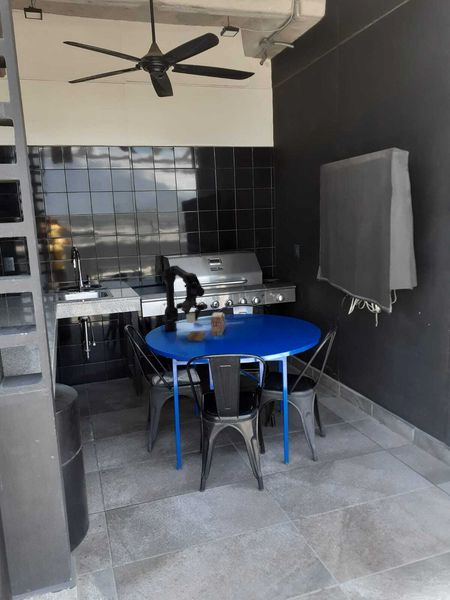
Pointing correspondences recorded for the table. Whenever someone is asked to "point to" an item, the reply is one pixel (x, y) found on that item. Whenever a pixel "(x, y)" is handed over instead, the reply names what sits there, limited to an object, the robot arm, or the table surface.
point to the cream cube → (191, 318)
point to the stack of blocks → (217, 323)
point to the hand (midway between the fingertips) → (192, 320)
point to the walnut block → (196, 335)
